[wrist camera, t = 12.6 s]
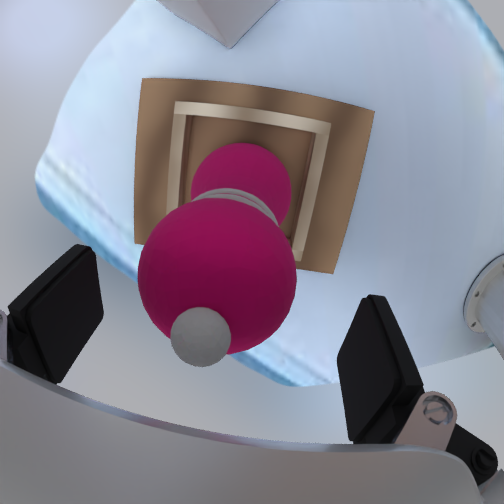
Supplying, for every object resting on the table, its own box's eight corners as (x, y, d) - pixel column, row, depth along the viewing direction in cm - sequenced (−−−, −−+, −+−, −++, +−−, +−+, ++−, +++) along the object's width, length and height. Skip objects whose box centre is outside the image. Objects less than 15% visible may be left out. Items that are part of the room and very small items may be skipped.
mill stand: (370, 111, 23) (383, 112, 20) (330, 268, 30) (337, 286, 27) (147, 79, 23) (131, 76, 20) (138, 238, 30) (125, 253, 27)
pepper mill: (283, 221, 27) (303, 430, 9) (203, 215, 27) (110, 405, 9) (291, 140, 24) (362, 250, 6) (204, 135, 24) (50, 226, 6)
